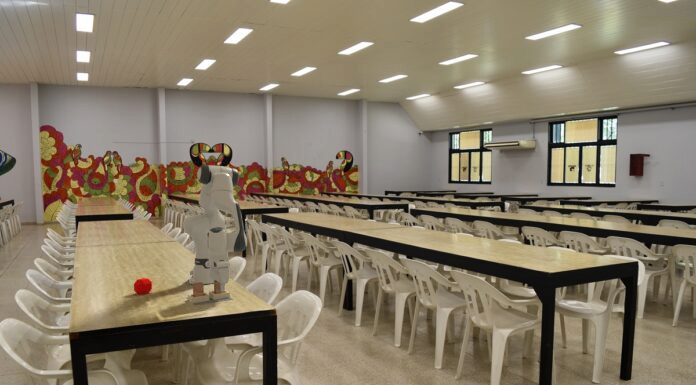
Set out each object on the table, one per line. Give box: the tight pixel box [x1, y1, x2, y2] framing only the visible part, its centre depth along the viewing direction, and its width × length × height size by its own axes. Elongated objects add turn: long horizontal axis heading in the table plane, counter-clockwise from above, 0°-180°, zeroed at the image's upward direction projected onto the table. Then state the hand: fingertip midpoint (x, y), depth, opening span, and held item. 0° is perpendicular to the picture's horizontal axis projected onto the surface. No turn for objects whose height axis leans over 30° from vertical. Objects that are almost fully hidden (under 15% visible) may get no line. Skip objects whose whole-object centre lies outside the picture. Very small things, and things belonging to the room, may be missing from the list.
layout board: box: [185, 289, 234, 306], centre depth 236 cm, size 18×18×4 cm
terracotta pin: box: [213, 280, 226, 294], centre depth 239 cm, size 4×4×8 cm
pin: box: [192, 282, 205, 297], centre depth 234 cm, size 4×4×8 cm
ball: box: [133, 277, 153, 296], centre depth 256 cm, size 8×8×8 cm
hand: (219, 289), depth 239 cm, fingers open, 8 cm apart
